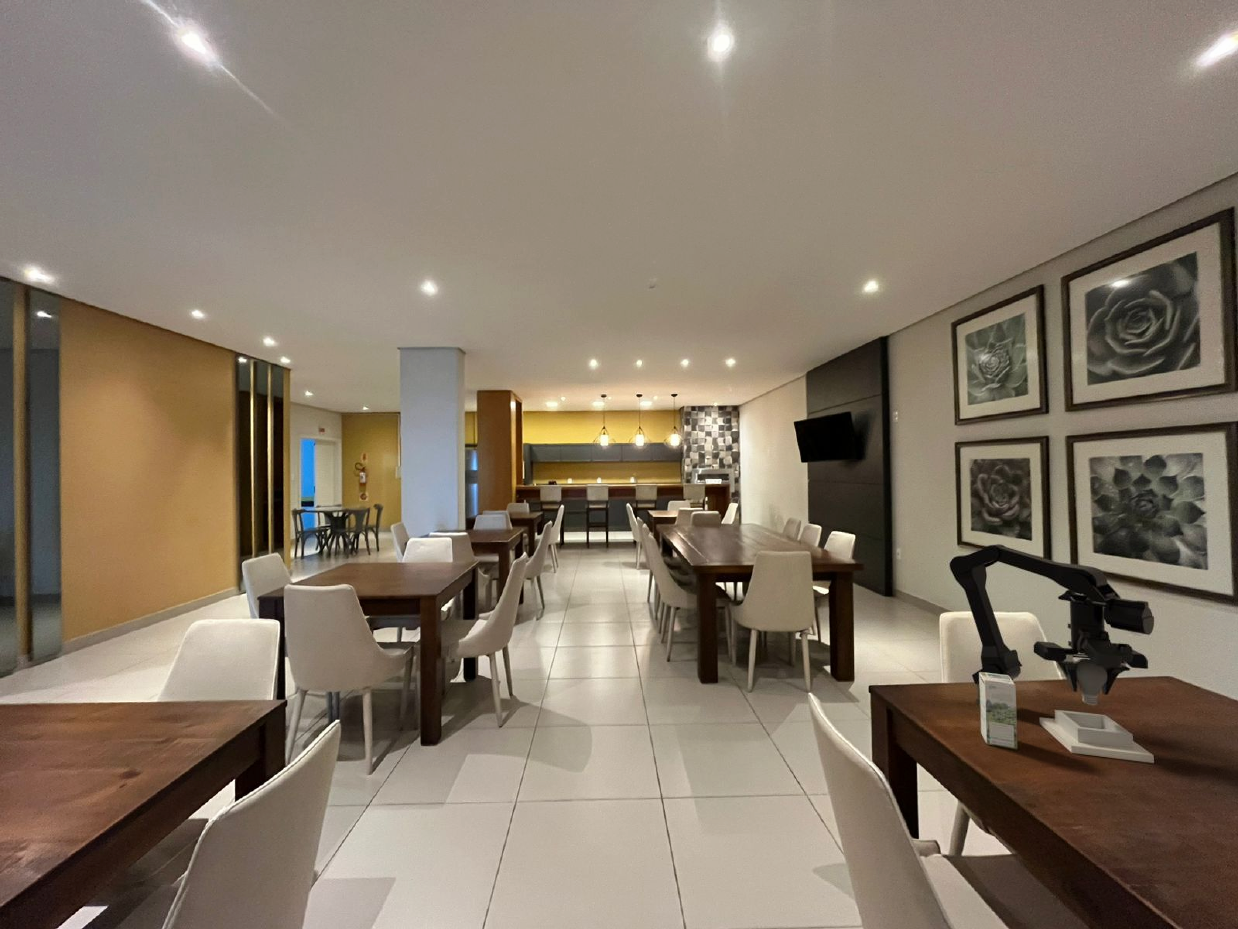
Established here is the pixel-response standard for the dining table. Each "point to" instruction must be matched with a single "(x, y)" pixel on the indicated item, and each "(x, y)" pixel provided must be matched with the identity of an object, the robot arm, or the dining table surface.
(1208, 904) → the dining table surface
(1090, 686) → the light bulb
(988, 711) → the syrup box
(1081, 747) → the socket base
